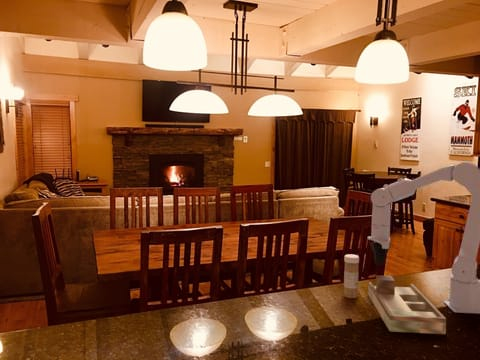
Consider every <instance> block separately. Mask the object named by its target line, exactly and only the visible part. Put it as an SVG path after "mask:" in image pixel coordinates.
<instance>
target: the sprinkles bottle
mask: <svg viewBox="0 0 480 360" xmlns="http://www.w3.org/2000/svg"><path fill="white" fill-rule="evenodd" d="M343 258H344V259H343V260H344V274H343V275H344V276H343V286H344V287H343V296H344V297H345V298H347V299H356V298H358V297H359V292H358V288H359V263H360V257H359V255H357V254H354V253H353V254H352V253H351V254H348V253H347V254H345V255H344V257H343Z"/></svg>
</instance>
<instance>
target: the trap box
mask: <svg viewBox="0 0 480 360" xmlns="http://www.w3.org/2000/svg"><path fill="white" fill-rule="evenodd" d="M409 286H410V287H406V286H395V295H387V294H379V293H378V291H377V290H376V285H374V284H373V283H372V282H371V281H368V293H367V295H368V297H369V298H370V300H371V302H372V304H373V305H374V307H375V309H376V311H377V312H378V314H379V315H380V317H381V319H382V321H383V322H384V324H385V326H386V328H387V329H388V331H389V332H392V333H393V332H397V333H414V334H415V333H417V334H431V335H432V334H433V335H434V334H435V335H446V332H447V331H446V330H447V318H446V317H445V316H444V315H443V313H441V312H440V310H438V308H437V307H436V306H435V305H434V304H433V303H432V302H431V301H430V300H429V299H428V298H427V296H425V295H424V294H423V293H422V292H421V291H420V289H419V288H418V287H417V286H416V285H415V284H414V283H410V285H409Z"/></svg>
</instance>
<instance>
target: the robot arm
mask: <svg viewBox="0 0 480 360" xmlns="http://www.w3.org/2000/svg"><path fill="white" fill-rule="evenodd" d="M453 180H454V182H456V183H458V184H459V185H460V186H463V187H464V189H466V191H468V193H469V194H470V195H471V200H470V201H471V202H470V206H469V210H468V213H467V218H466V224H465V227H464V231H463V235H462V236H463V237H462V241H461V244H460V248H459V252H458V255H457V256H456V257H455V258H454V259H453V264H452V266H451V271H450V272H451V275H450V279H449V282H450V283H449V298H448V300H443V303H444V304H445V305H446V306H448V308H449V309H451V311H453V312H454V313H462V314H463V313H464V314H479V315H480V279H479V278H478V277H477V269H478V262H477V256H478V250H479V247H480V167H478V166H477V165H476V164H475V163H473V162H471V161H461V162H460V163H455V164H451V165H447V166H443V167H441V168H438V169H436V170H433V171H431V172H428V173H426V174H424V175H421V176H419V177H417V178H413V179H409V178H406V177H405V178H403V177H400V178H398V179H397V181H395V182H393V183H390V184H387V183H386V184H384V185H383V187H381V188H377V189H375V190H373V191H372V193H371V195H370V201H371V202H372V211H371V231H370V232H371V236H367V240H369V241H373V242H369V243H370V246H371V248H372V252H373V257H374V262H375V265H376V266H383V265H385V260H386V256H387V254H388V252H389V251H390V249H391V245H390V242H391V235H390V234H391V232H390V231H391V213H392V212H391V203H392V202H393V203H394V202H397V201H400V200H403V199H406V198H409V197H410V196H413V195H415V192H416V191H417V189H421V188H422V187H427V186H429V185H431V184H432V185H433V184H434V183H437V182H441V181H447V182H452V181H453Z"/></svg>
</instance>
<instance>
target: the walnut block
mask: <svg viewBox="0 0 480 360" xmlns="http://www.w3.org/2000/svg"><path fill="white" fill-rule="evenodd" d="M375 276H376V279H375V280H376V283H375V286H376V290H377V291H378V293H379V294H387V295H395V287H396V280H395V278H394V277H393V276H392V275H380V274H378V275H375Z"/></svg>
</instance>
